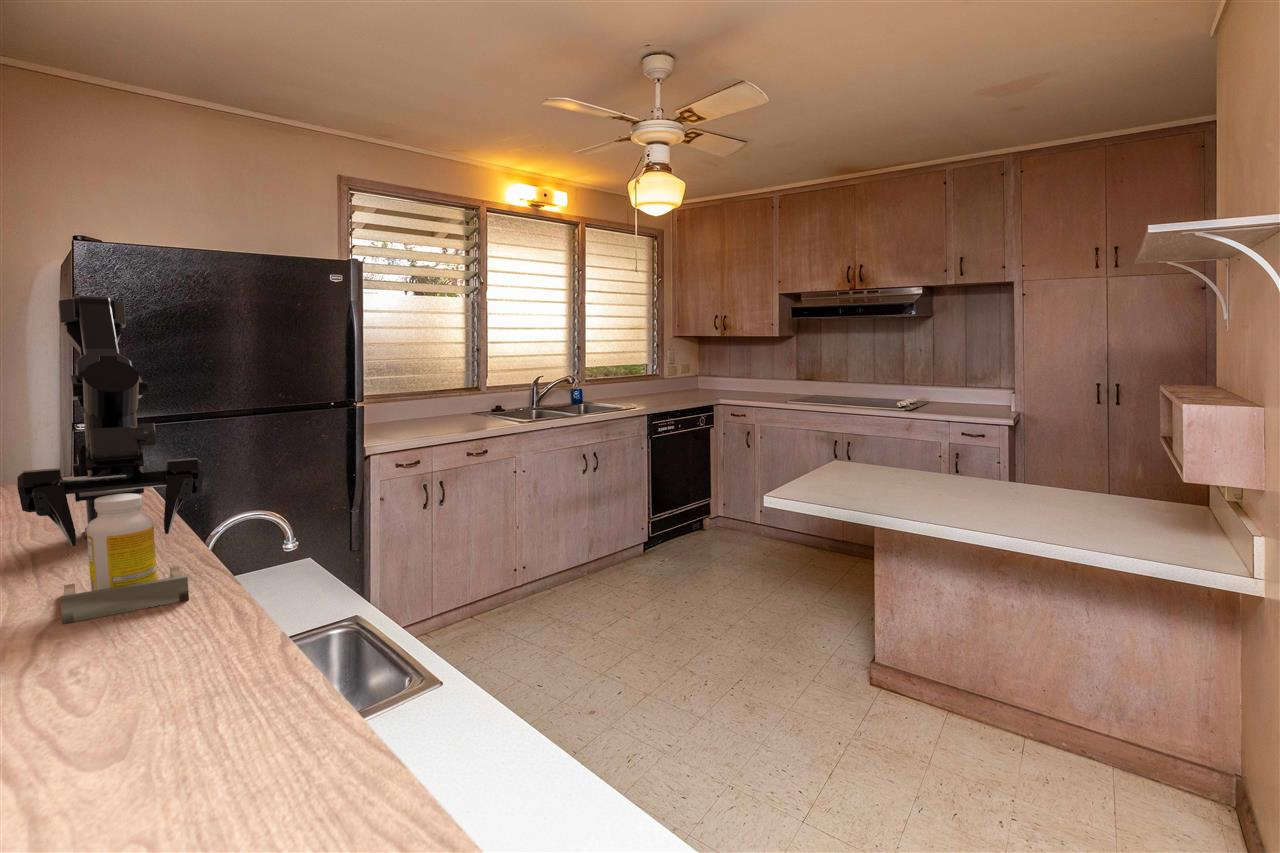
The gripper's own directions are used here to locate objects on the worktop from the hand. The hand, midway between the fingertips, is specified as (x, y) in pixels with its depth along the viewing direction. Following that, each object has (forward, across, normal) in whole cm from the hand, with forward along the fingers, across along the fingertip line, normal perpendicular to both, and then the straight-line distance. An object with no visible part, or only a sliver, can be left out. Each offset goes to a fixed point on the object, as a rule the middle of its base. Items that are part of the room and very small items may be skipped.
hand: (122, 538), depth 82 cm
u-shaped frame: (+6, 0, +5) cm, 8 cm away
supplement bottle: (+5, 0, +6) cm, 8 cm away
